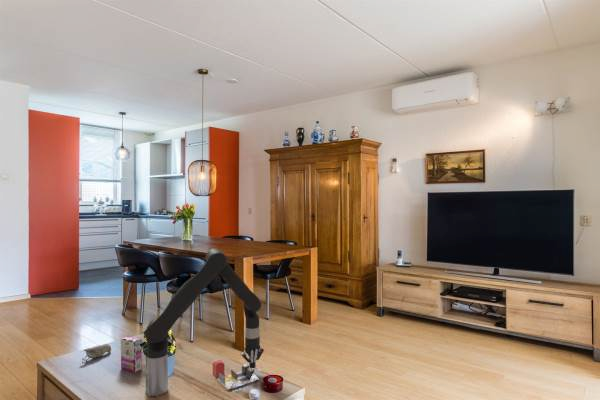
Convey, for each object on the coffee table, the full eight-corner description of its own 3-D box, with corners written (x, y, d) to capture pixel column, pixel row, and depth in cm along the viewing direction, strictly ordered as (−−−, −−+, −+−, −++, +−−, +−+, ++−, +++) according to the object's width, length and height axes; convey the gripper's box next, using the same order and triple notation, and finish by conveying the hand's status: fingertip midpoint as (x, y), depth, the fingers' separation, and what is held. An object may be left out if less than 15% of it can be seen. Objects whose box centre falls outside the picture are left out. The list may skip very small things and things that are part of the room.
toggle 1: (244, 374, 189) (244, 366, 189) (241, 372, 191) (241, 364, 191) (249, 373, 190) (248, 365, 190) (246, 371, 193) (246, 363, 193)
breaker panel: (227, 390, 176) (227, 382, 176) (217, 380, 186) (217, 373, 186) (259, 380, 186) (259, 372, 186) (248, 371, 196) (248, 364, 196)
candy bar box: (142, 369, 199) (142, 338, 199) (134, 373, 195) (134, 341, 194) (128, 365, 204) (128, 335, 204) (120, 368, 200) (120, 338, 200)
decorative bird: (113, 353, 220) (113, 340, 220) (86, 364, 206) (86, 350, 206) (107, 351, 223) (107, 339, 222) (80, 362, 209) (80, 349, 208)
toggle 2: (249, 378, 184) (249, 370, 184) (246, 376, 187) (246, 368, 187) (254, 377, 186) (254, 369, 186) (251, 375, 188) (251, 367, 188)
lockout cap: (216, 377, 189) (216, 364, 189) (212, 374, 193) (212, 361, 193) (224, 374, 192) (224, 362, 192) (220, 371, 196) (220, 359, 196)
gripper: (244, 340, 186) (244, 375, 186) (267, 334, 194) (267, 368, 194) (237, 336, 192) (237, 369, 193) (260, 330, 200) (260, 363, 200)
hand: (252, 369), depth 193 cm, fingers closed
